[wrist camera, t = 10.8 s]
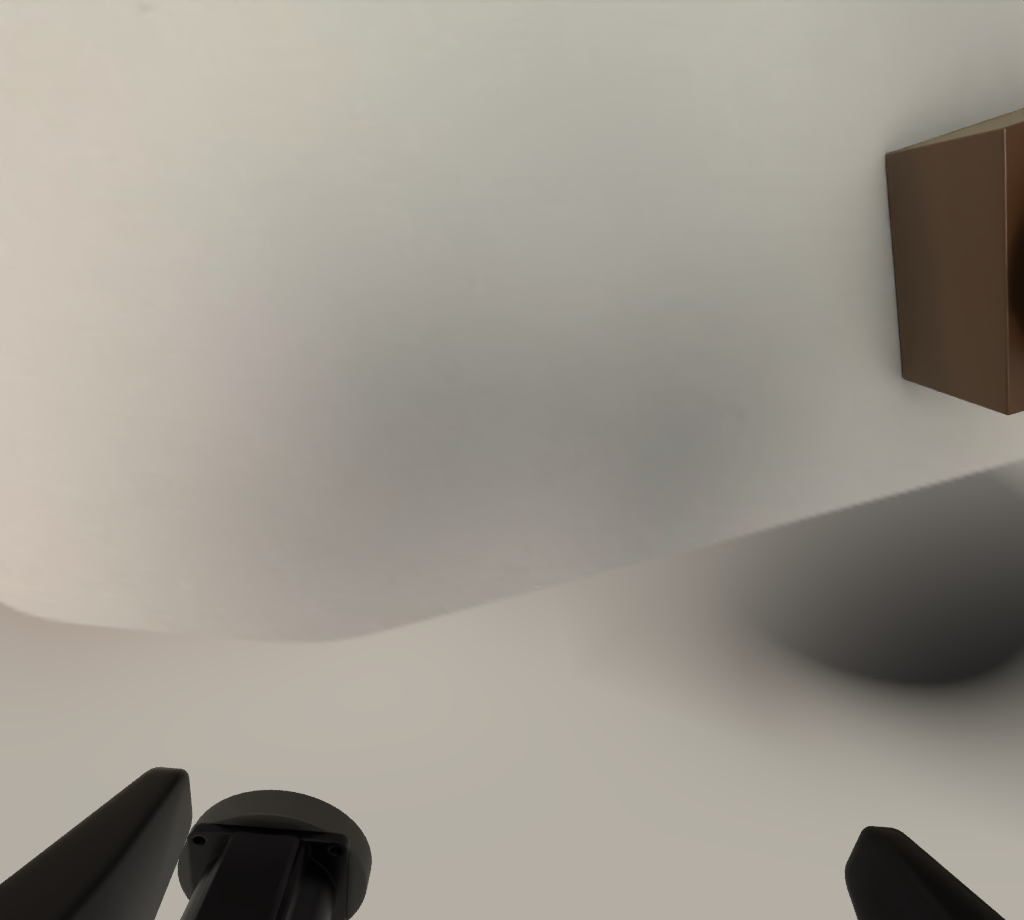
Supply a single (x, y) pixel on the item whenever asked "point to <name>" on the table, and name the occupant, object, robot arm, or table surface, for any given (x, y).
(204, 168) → the table surface
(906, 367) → the stand
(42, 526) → the table surface
